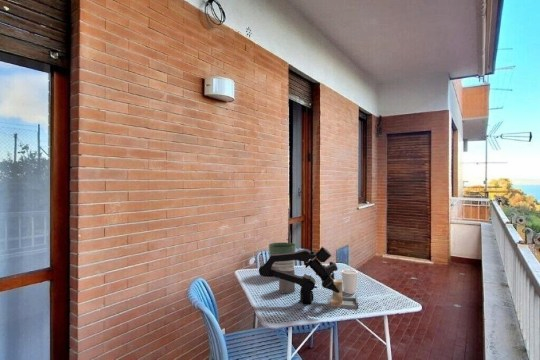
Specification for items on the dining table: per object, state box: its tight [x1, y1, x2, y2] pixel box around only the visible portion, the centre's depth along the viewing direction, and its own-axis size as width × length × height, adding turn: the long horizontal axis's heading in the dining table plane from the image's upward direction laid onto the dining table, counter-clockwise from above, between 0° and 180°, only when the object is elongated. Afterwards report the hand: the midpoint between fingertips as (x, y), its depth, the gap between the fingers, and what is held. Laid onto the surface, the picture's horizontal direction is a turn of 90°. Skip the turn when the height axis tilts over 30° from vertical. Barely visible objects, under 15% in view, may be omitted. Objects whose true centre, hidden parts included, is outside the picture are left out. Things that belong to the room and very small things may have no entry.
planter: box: [268, 242, 297, 270], centre depth 232 cm, size 20×20×21 cm
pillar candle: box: [278, 267, 296, 294], centre depth 197 cm, size 10×10×15 cm
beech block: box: [332, 278, 343, 305], centre depth 174 cm, size 5×5×12 cm
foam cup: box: [341, 269, 359, 295], centre depth 191 cm, size 10×9×13 cm
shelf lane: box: [326, 294, 359, 309], centre depth 173 cm, size 16×12×4 cm
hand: (338, 289), depth 173 cm, fingers open, 9 cm apart
